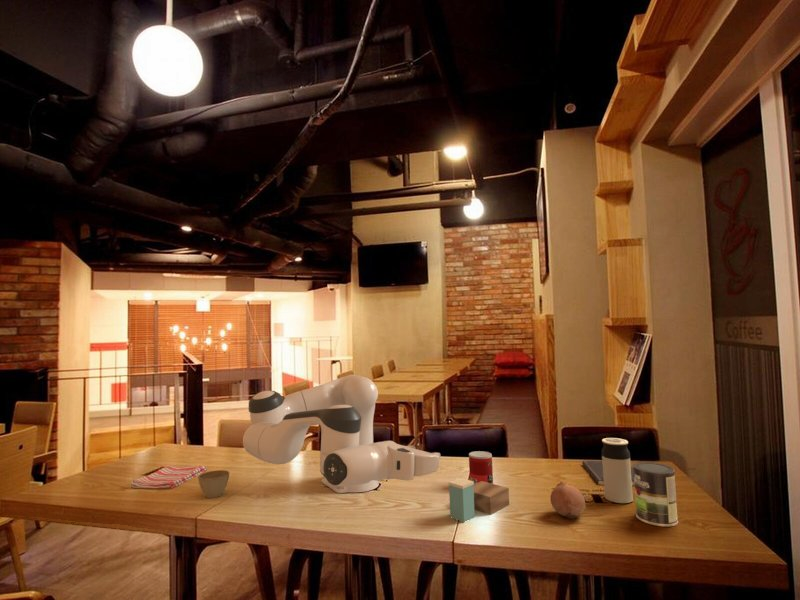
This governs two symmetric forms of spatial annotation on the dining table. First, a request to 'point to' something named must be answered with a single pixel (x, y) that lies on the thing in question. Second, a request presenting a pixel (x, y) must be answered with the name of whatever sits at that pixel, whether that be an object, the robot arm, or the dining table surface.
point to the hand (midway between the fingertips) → (425, 452)
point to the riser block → (490, 497)
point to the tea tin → (461, 499)
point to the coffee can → (655, 494)
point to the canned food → (480, 467)
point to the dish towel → (168, 477)
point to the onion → (567, 500)
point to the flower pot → (213, 482)
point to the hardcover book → (600, 471)
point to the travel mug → (617, 470)
